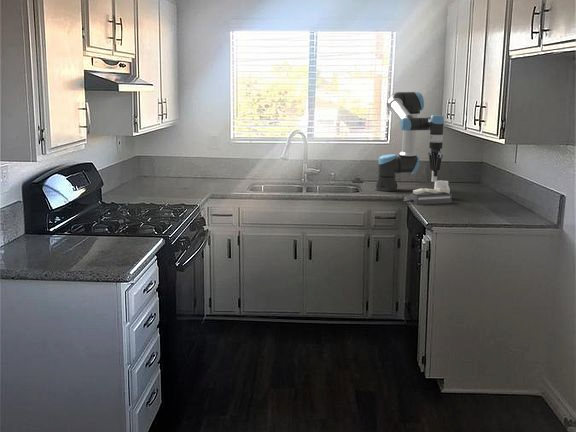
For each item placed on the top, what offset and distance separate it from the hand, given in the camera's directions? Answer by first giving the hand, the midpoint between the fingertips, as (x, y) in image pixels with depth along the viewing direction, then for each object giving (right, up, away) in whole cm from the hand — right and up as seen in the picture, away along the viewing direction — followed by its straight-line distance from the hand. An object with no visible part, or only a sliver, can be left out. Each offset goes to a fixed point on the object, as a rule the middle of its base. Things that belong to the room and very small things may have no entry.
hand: (434, 181), depth 383 cm
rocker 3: (+5, -5, +2) cm, 8 cm away
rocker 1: (-9, -6, -2) cm, 11 cm away
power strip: (-5, -13, +1) cm, 13 cm away
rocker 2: (-2, -6, 0) cm, 6 cm away
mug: (+9, -10, +17) cm, 22 cm away
